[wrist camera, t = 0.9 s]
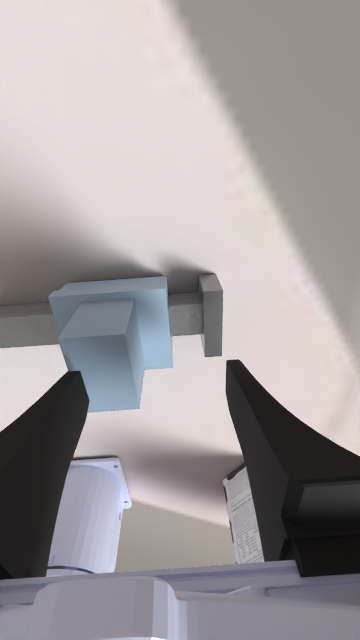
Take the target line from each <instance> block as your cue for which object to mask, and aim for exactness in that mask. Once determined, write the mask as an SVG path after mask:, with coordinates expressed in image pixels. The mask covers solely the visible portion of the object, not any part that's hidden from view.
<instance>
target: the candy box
mask: <svg viewBox="0 0 360 640" xmlns="http://www.w3.org/2000/svg"><path fill="white" fill-rule="evenodd" d="M223 486H224V491H225V497H226V503H227V510H228V516H229V521H230V528H231V533H232V539H233V546H234V554H235V560H236V564H241V563H256V562H264V557H263V551H262V546H261V540H260V535H259V529H258V524H257V519H256V513H255V508H254V503H253V498H252V493H251V488H250V483H249V479H248V474H247V469H246V465H245V464H243V465H242V466H241V467H239V468H238V469H237V470H235V471H234V472H233V473H231V474H230V475H229V476H227V477H226V478H225V479H224V480H223Z"/></svg>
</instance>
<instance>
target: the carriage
mask: <svg viewBox="0 0 360 640" xmlns="http://www.w3.org/2000/svg"><path fill="white" fill-rule="evenodd" d="M48 299H49V302H50V305H51V308H52V311H53V314H54V318H55V321H56V324H57V327H58V330H59V333H60V336H59V337H58V341H59V344H60V347H61V350H62V353H63V356H64V359H65V362H66V365H67V368H68V371H81V375H82V378H83V381H84V384H85V387H86V391H87V394H88V397H89V400H90V402H89V407H88V412H101V411H116V410H130V409H139V408H140V400H141V392H142V384H143V376H144V370H148V369H163V368H173V357H172V336H170V325H169V314H168V290H167V279H166V276H159V277H145V278H131V279H116V280H102V281H88V282H74V283H66V284H65V285H64V286H63V287H62V288H61V289H60V290H54V291H53V292H52V293H51V294H50V295H49V296H48Z"/></svg>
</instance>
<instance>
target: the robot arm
mask: <svg viewBox="0 0 360 640" xmlns="http://www.w3.org/2000/svg"><path fill="white" fill-rule="evenodd" d="M226 396H227V402H228V407H229V411H230V415H231V418H232V421H233V424H234V428H235V431H236V434H237V437H238V440H239V443H240V447H241V450H242V453H243V457H244V460H245V465H246V469H247V474H248V479H249V483H250V488H251V493H252V498H253V503H254V508H255V513H256V519H257V524H258V529H259V535H260V540H261V546H262V551H263V557H264V562H256V563H241V564H227V565H212V566H199V567H198V566H197V567H184V568H168V569H153V570H139V571H124V572H114V569H115V564H116V557H117V550H118V543H119V535H120V528H121V521H122V513H123V509H126V508H131V505H132V502H131V499H130V495H129V492H128V488H127V484H126V481H125V477H124V474H123V470H122V466H121V463H120V460H119V459H118V458H101V459H87V460H73V461H71V460H72V458H73V455H74V452H75V449H76V446H77V444H78V441H79V438H80V435H81V432H82V429H83V427H84V424H85V421H86V416H87V412H88V407H89V402H90V400H89V397H88V394H87V391H86V387H85V384H84V381H83V378H82V375H81V371H68V372H67V373H66V374H64V375H63V376H62V377H61V378H60V379H59V380H58V381H57V382H56V383H55V384H54V385H53V386H52V387H51V388H50V389H49V390H48V391H47V392H46V393H45V394H44V395H43V396H42V397H41V398H40V399H39V400H38V401H37V402H35V403H34V404H33V405H32V406H31V407H30V408H29V409H28V410H26V411H25V412H24V413H23V414H22V415H21V416H20V417H19V418H17V419H16V420H15V421H14V422H12V423H11V424H10V425H9V426H7V427H6V428H5V429H4V430H2V431H1V432H0V640H360V456H358V455H356V454H354V453H352V452H350V451H348V450H347V449H345V448H343V447H341V446H339V445H337V444H336V443H334V442H332V441H331V440H329V439H327V438H326V437H324V436H323V435H321V434H319V433H318V432H316V431H315V430H314V429H312V428H311V427H309V426H308V425H306V424H305V423H303V422H302V421H301V420H299V419H298V418H297V417H295V416H294V415H293V414H292V413H290V412H289V411H288V410H287V409H286V408H284V407H283V406H282V405H281V404H280V403H279V402H278V401H277V400H276V399H275V398H273V397H272V396H271V395H270V394H269V393H268V392H267V391H266V390H265V389H264V387H263V386H262V385H261V384H260V383H259V382H258V381H257V380H256V379H255V378H254V377H253V375H252V374H251V373H250V372H249V371H248V369H247V368H246V367H245V366H244V364H243V363H242V362H241V361H240V360H227V362H226Z"/></svg>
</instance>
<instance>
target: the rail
mask: <svg viewBox="0 0 360 640" xmlns="http://www.w3.org/2000/svg"><path fill="white" fill-rule="evenodd" d="M168 314H169V325H170V336H181V335H196V334H200V335H201V340H202V345H203V351H204V356H205V357H214V356H222V315H223V289H222V287H221V285H220V283H219V280H218V278H217V276H216V274H205V275H199V292H189V293H175V294H168ZM59 336H60V333H59V330H58V327H57V324H56V321H55V318H54V314H53V311H52V308H51V305H50V302H47V303H33V304H19V305H5V306H0V348H11V347H25V346H39V345H54V344H59V341H58V337H59Z"/></svg>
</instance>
